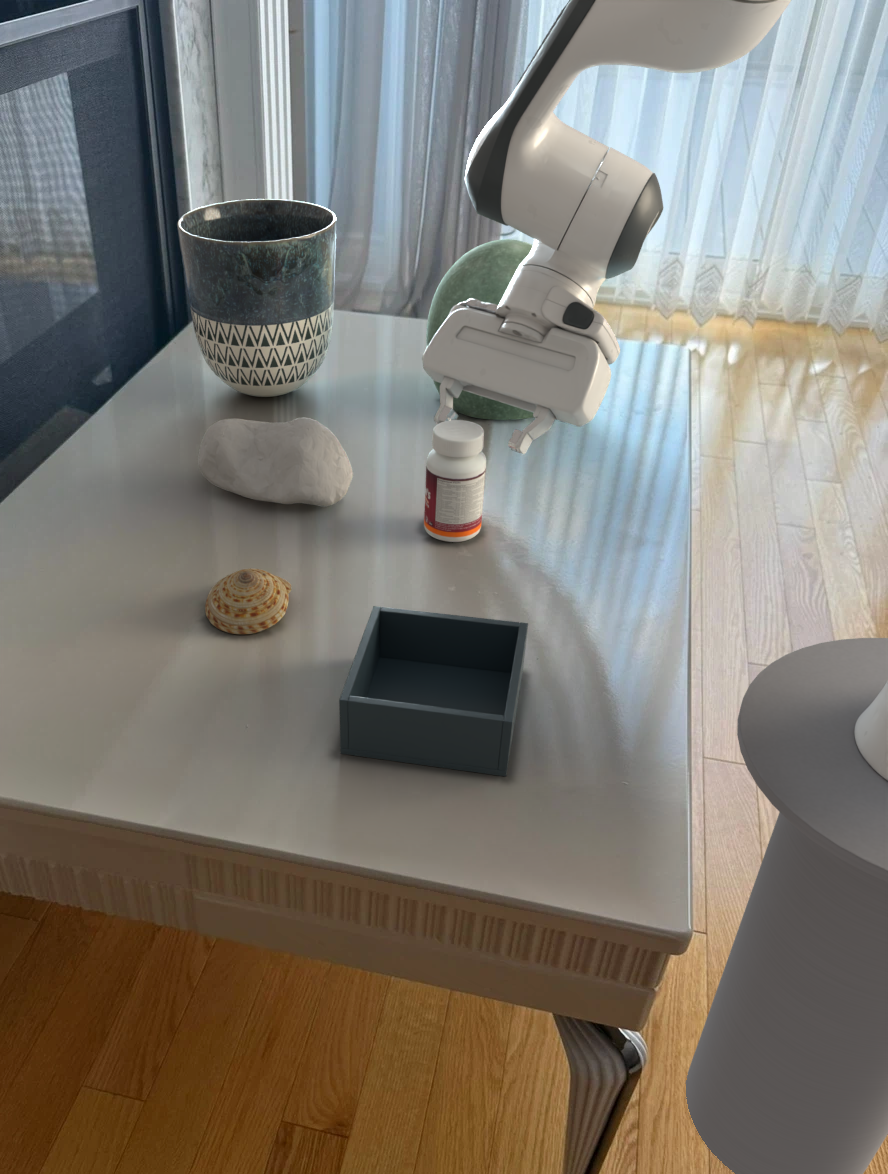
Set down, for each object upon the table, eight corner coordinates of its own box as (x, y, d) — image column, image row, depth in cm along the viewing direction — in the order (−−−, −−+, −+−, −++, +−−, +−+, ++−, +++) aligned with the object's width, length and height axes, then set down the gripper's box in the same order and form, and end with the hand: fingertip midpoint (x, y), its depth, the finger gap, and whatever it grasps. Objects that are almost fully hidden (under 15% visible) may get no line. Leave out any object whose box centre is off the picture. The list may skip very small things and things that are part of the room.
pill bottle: (425, 514, 115) (429, 415, 108) (482, 516, 114) (489, 418, 107) (421, 542, 110) (425, 441, 103) (480, 545, 109) (488, 444, 102)
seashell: (305, 569, 102) (277, 580, 95) (299, 625, 104) (272, 641, 96) (227, 556, 104) (194, 567, 97) (223, 612, 106) (190, 626, 98)
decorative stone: (367, 457, 120) (342, 406, 110) (344, 535, 117) (317, 490, 108) (232, 445, 125) (198, 396, 116) (208, 519, 123) (171, 475, 114)
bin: (522, 675, 92) (528, 622, 89) (506, 776, 82) (512, 722, 79) (373, 657, 95) (373, 605, 91) (340, 753, 85) (338, 699, 81)
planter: (245, 432, 132) (231, 252, 118) (169, 384, 144) (148, 216, 130) (368, 393, 140) (368, 222, 127) (287, 351, 152) (278, 191, 139)
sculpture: (571, 379, 143) (590, 223, 130) (573, 429, 131) (596, 261, 118) (429, 374, 145) (435, 219, 132) (419, 422, 133) (424, 257, 120)
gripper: (448, 279, 110) (387, 397, 111) (618, 322, 100) (550, 452, 100) (470, 311, 116) (412, 423, 116) (635, 355, 105) (570, 478, 106)
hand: (477, 437), depth 108 cm, fingers open, 8 cm apart
